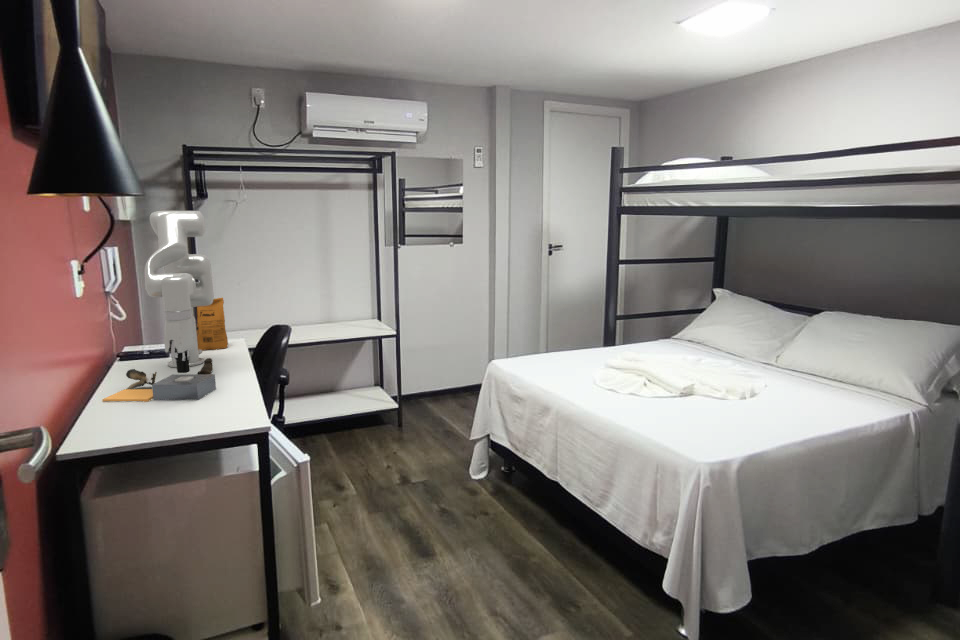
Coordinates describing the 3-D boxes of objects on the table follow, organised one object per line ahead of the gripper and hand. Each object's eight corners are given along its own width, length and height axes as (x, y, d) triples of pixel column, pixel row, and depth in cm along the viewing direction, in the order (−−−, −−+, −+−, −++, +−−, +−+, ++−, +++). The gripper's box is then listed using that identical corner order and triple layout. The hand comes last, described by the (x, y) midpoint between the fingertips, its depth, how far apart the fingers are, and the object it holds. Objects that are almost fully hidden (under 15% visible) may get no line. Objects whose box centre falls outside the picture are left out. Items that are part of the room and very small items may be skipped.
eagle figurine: (156, 379, 201) (125, 378, 197) (157, 365, 197) (126, 363, 193) (153, 396, 196) (122, 395, 192) (154, 382, 192) (122, 380, 188)
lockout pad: (124, 391, 191) (124, 389, 191) (166, 391, 191) (166, 389, 191) (102, 401, 181) (102, 399, 181) (147, 401, 180) (147, 399, 180)
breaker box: (174, 389, 194) (172, 374, 193) (216, 389, 193) (214, 374, 193) (153, 400, 182) (151, 384, 181) (198, 400, 182) (196, 384, 181)
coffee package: (197, 347, 259) (193, 297, 256) (228, 344, 264) (224, 296, 260) (196, 351, 250) (191, 300, 247) (228, 349, 255) (224, 298, 251)
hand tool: (209, 381, 204) (208, 368, 203) (197, 382, 203) (196, 369, 202) (218, 368, 222) (217, 356, 221) (207, 369, 221) (206, 357, 220)
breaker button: (182, 388, 189) (181, 376, 189) (194, 388, 189) (193, 376, 189) (175, 392, 186) (174, 379, 185) (188, 392, 185) (187, 379, 185)
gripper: (178, 311, 191) (183, 366, 194) (152, 320, 176) (159, 379, 180) (201, 311, 191) (206, 366, 194) (177, 320, 176) (183, 379, 180)
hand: (183, 372), depth 187 cm, fingers closed
